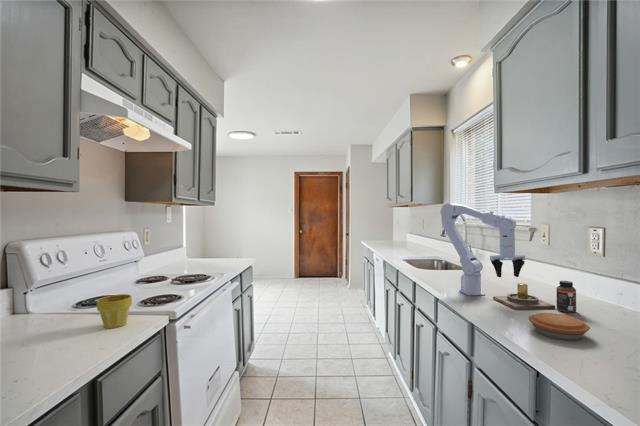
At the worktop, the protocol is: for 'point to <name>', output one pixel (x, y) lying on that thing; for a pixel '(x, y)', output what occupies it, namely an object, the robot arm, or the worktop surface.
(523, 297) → the planet gear
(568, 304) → the supplement bottle
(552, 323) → the pie
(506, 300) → the collar board
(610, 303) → the worktop surface
